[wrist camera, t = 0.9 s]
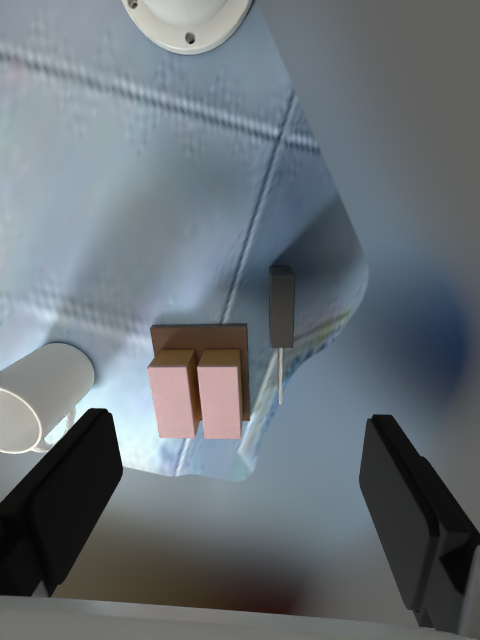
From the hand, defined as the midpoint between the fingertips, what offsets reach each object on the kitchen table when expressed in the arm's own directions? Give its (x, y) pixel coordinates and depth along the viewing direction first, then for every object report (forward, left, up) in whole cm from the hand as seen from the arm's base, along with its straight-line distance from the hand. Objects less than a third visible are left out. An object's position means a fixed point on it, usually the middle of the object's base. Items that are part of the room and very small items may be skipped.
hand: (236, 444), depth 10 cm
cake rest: (+13, -10, -24) cm, 29 cm away
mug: (+13, -26, -25) cm, 38 cm away
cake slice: (+13, -4, -24) cm, 27 cm away
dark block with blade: (+6, +3, -25) cm, 26 cm away
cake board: (+12, -7, -25) cm, 28 cm away
